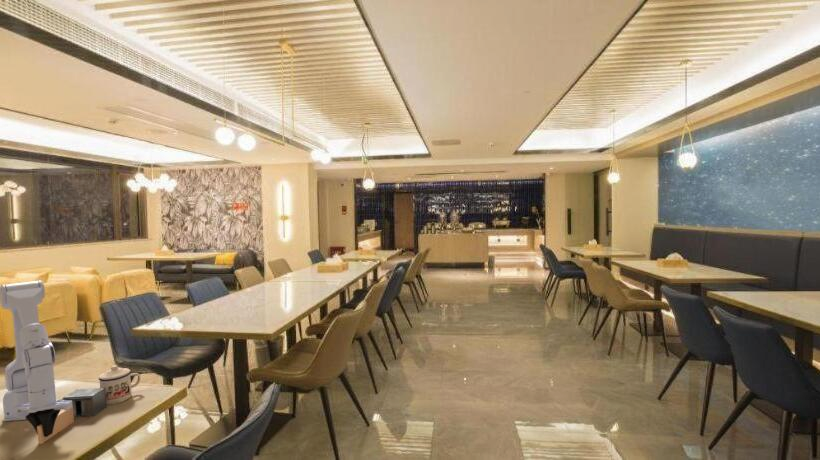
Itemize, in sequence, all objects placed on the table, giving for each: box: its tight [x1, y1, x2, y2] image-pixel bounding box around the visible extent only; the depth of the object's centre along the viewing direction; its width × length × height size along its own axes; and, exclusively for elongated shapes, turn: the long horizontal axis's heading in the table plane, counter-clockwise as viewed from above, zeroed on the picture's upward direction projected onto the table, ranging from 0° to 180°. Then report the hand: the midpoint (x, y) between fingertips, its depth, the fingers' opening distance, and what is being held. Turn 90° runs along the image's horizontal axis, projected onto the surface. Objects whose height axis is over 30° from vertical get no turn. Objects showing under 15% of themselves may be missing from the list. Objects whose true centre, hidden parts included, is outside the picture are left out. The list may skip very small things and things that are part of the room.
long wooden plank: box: [36, 407, 75, 445], centre depth 123 cm, size 1×12×5 cm, turn 3°
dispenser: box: [60, 387, 108, 418], centre depth 135 cm, size 9×7×7 cm
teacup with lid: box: [98, 364, 141, 406], centre depth 145 cm, size 12×9×12 cm
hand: (45, 435), depth 119 cm, fingers closed, pressing on long wooden plank
